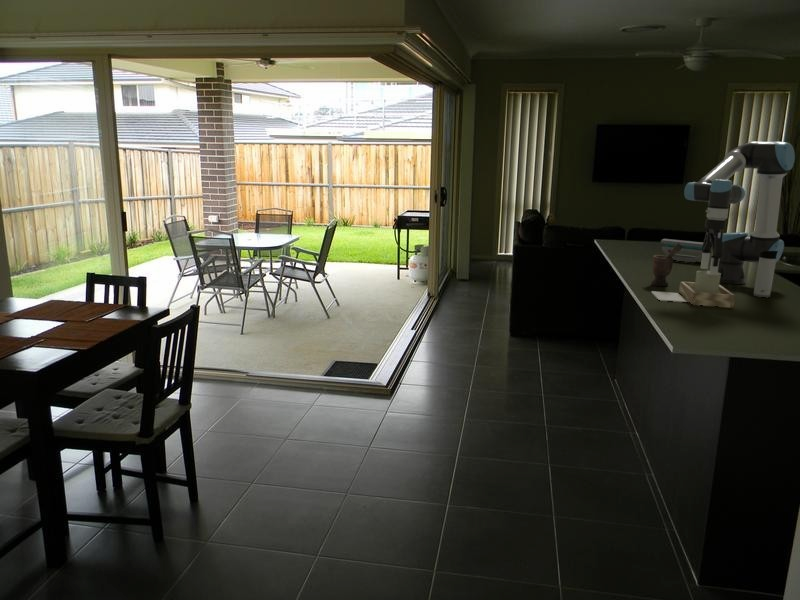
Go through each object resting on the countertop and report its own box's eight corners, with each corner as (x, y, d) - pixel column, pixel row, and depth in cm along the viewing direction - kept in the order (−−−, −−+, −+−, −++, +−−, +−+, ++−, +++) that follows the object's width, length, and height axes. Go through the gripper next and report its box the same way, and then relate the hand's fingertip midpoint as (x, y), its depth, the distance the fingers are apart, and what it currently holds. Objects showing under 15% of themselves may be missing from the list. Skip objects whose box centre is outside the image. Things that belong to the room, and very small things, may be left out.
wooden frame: (716, 295, 276) (718, 284, 275) (733, 307, 254) (735, 295, 253) (678, 292, 278) (680, 281, 277) (691, 304, 257) (693, 292, 256)
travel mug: (764, 298, 273) (772, 251, 268) (750, 295, 278) (757, 249, 274) (773, 297, 276) (781, 250, 271) (759, 294, 281) (766, 248, 277)
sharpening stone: (708, 262, 360) (711, 243, 357) (706, 264, 354) (709, 244, 351) (661, 257, 373) (664, 238, 371) (658, 259, 367) (661, 240, 364)
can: (719, 303, 261) (724, 274, 258) (695, 301, 263) (699, 272, 260) (713, 298, 270) (718, 270, 267) (690, 296, 272) (694, 268, 269)
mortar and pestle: (676, 285, 295) (682, 241, 291) (677, 288, 287) (683, 243, 283) (649, 282, 299) (655, 239, 294) (649, 286, 291) (655, 241, 286)
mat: (678, 294, 275) (678, 293, 275) (687, 302, 260) (687, 301, 260) (651, 292, 277) (651, 291, 277) (658, 300, 262) (658, 299, 262)
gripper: (698, 215, 271) (691, 265, 276) (715, 221, 247) (707, 276, 252) (717, 216, 270) (709, 267, 275) (736, 222, 246) (727, 277, 251)
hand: (708, 271), depth 263 cm, fingers open, 13 cm apart
